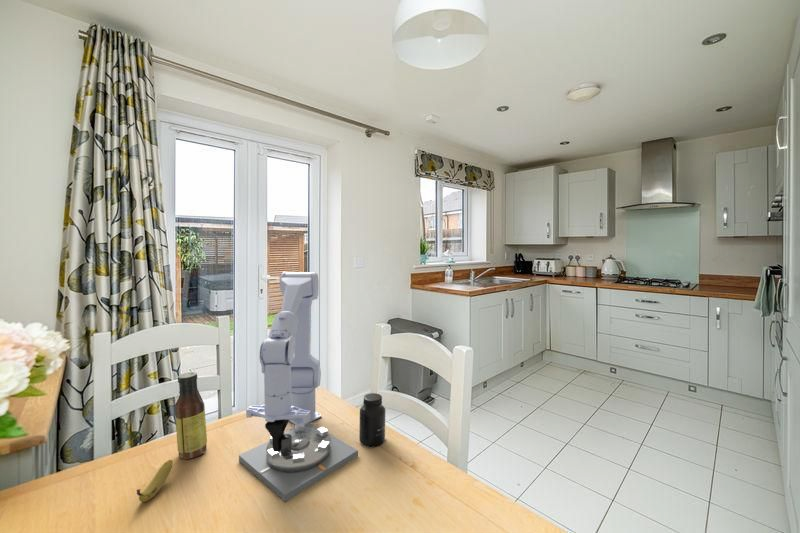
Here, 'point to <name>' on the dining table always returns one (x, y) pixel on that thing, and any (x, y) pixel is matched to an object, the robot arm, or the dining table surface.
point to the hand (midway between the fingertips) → (278, 449)
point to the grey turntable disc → (299, 449)
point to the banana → (156, 482)
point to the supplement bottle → (372, 421)
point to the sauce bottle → (190, 418)
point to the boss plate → (296, 482)
